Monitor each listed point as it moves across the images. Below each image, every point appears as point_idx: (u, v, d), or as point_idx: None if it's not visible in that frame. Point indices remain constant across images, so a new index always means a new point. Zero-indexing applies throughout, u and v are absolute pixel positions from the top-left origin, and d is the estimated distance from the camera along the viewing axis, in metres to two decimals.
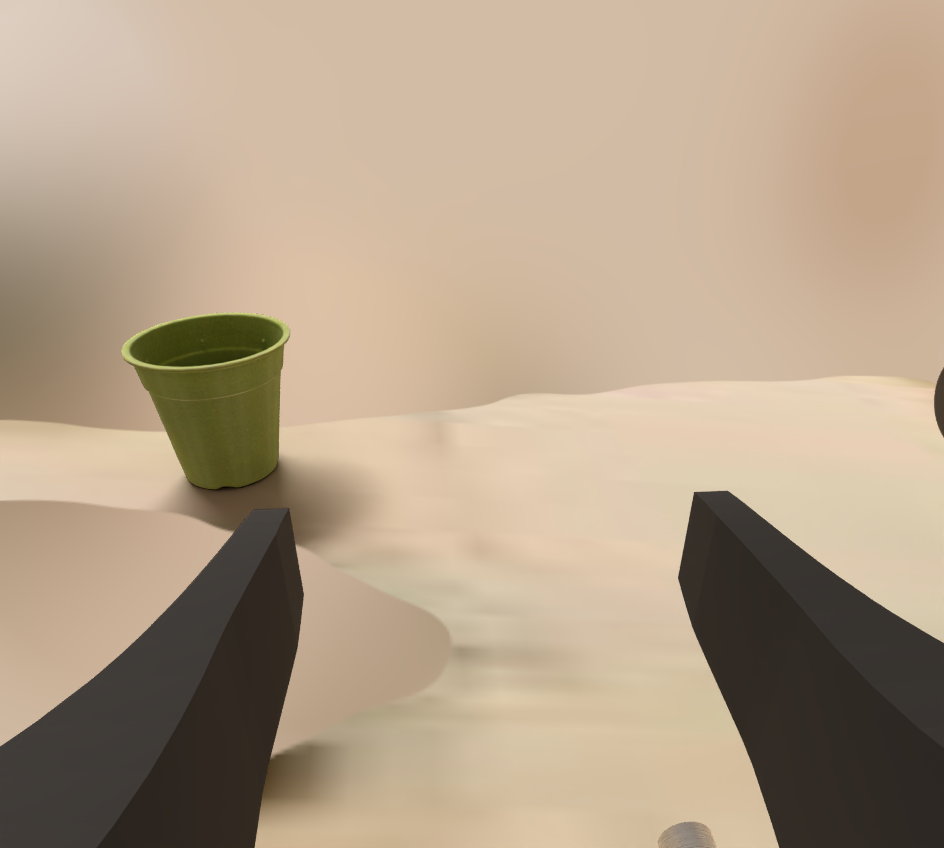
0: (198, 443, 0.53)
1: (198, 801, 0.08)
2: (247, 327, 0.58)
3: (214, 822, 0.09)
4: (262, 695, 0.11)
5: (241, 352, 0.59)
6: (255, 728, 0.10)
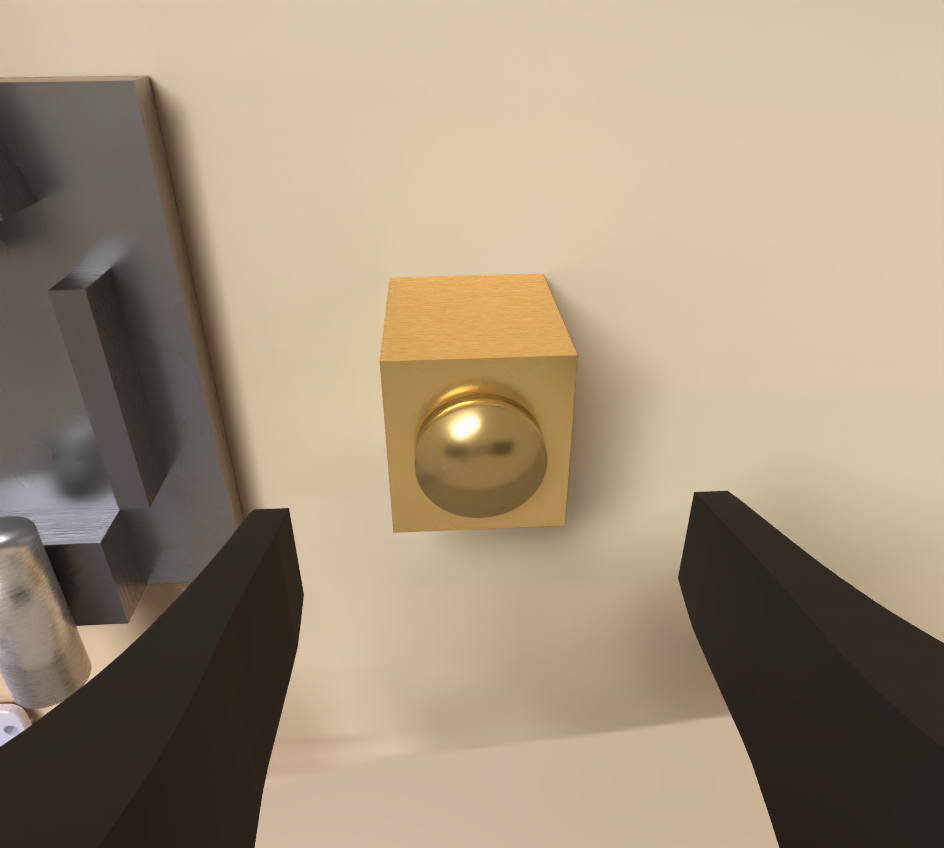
0: None
1: (198, 801, 0.08)
2: None
3: (214, 822, 0.09)
4: (262, 695, 0.11)
5: None
6: (255, 728, 0.10)
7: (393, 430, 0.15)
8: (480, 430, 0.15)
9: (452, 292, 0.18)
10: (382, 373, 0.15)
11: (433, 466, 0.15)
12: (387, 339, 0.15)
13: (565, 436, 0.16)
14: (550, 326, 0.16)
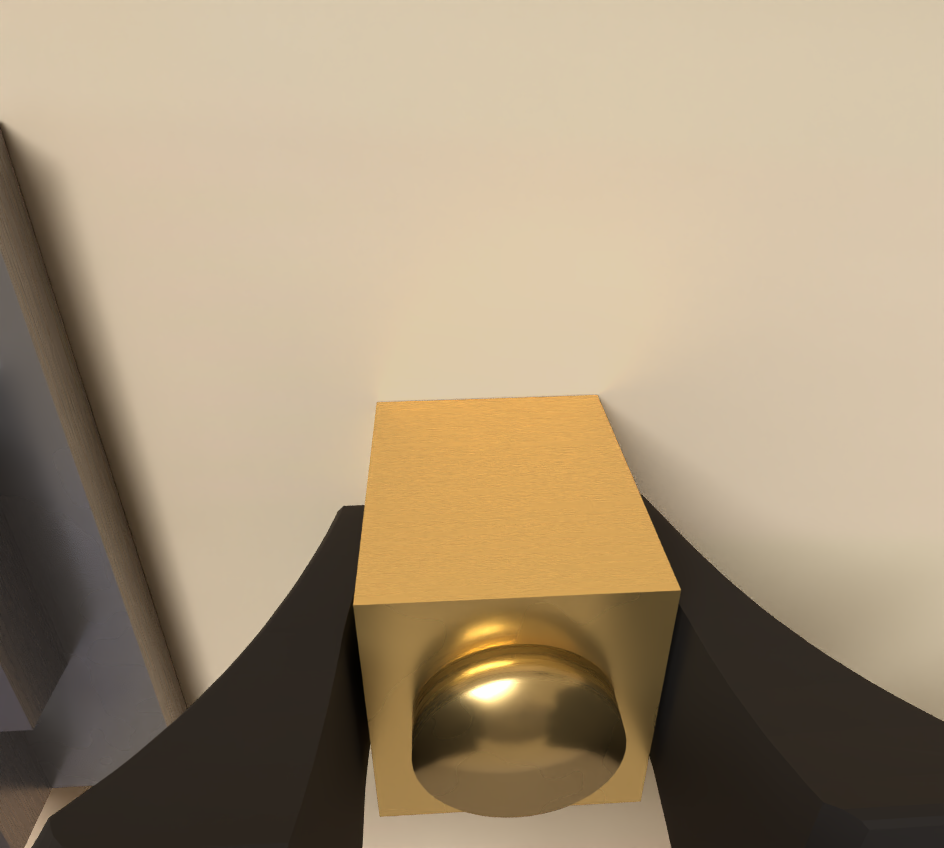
0: None
1: (336, 793, 0.08)
2: None
3: (343, 814, 0.09)
4: None
5: None
6: (361, 722, 0.10)
7: (376, 694, 0.10)
8: (519, 712, 0.09)
9: (467, 434, 0.12)
10: (357, 621, 0.09)
11: (442, 759, 0.09)
12: (368, 546, 0.10)
13: (651, 695, 0.10)
14: (625, 515, 0.10)
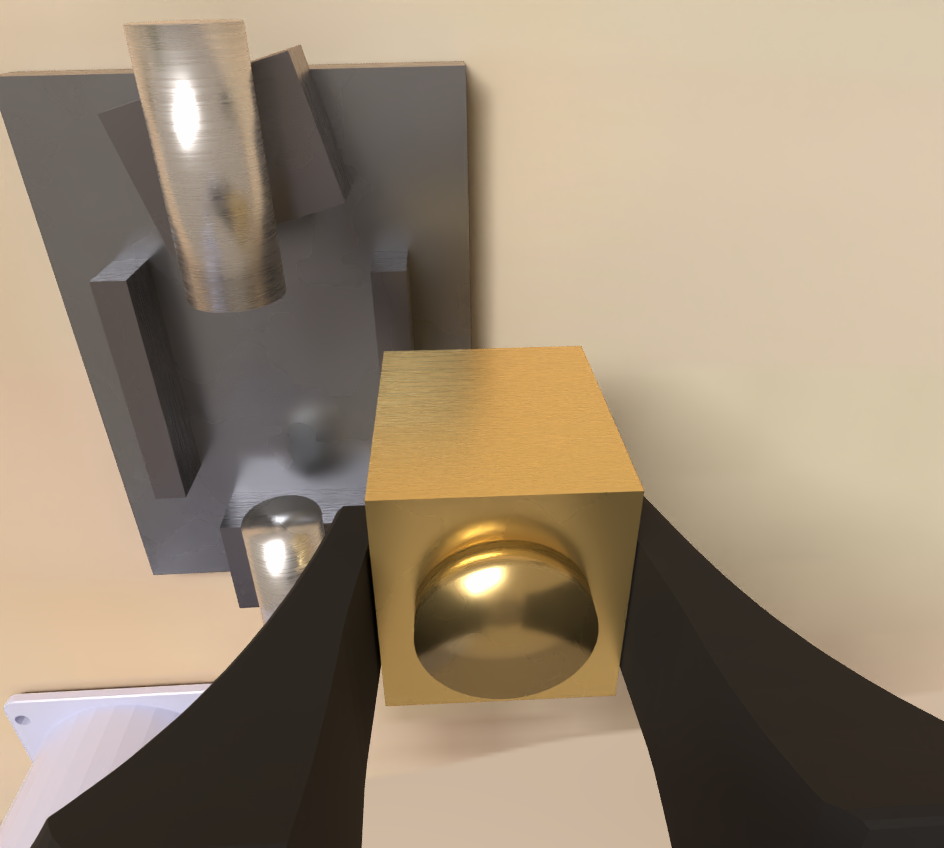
0: None
1: (335, 793, 0.08)
2: None
3: (342, 815, 0.09)
4: (364, 690, 0.11)
5: None
6: (360, 722, 0.10)
7: (384, 586, 0.11)
8: (506, 595, 0.10)
9: (464, 377, 0.14)
10: (368, 516, 0.10)
11: (439, 639, 0.11)
12: (377, 459, 0.11)
13: (621, 591, 0.11)
14: (600, 436, 0.12)
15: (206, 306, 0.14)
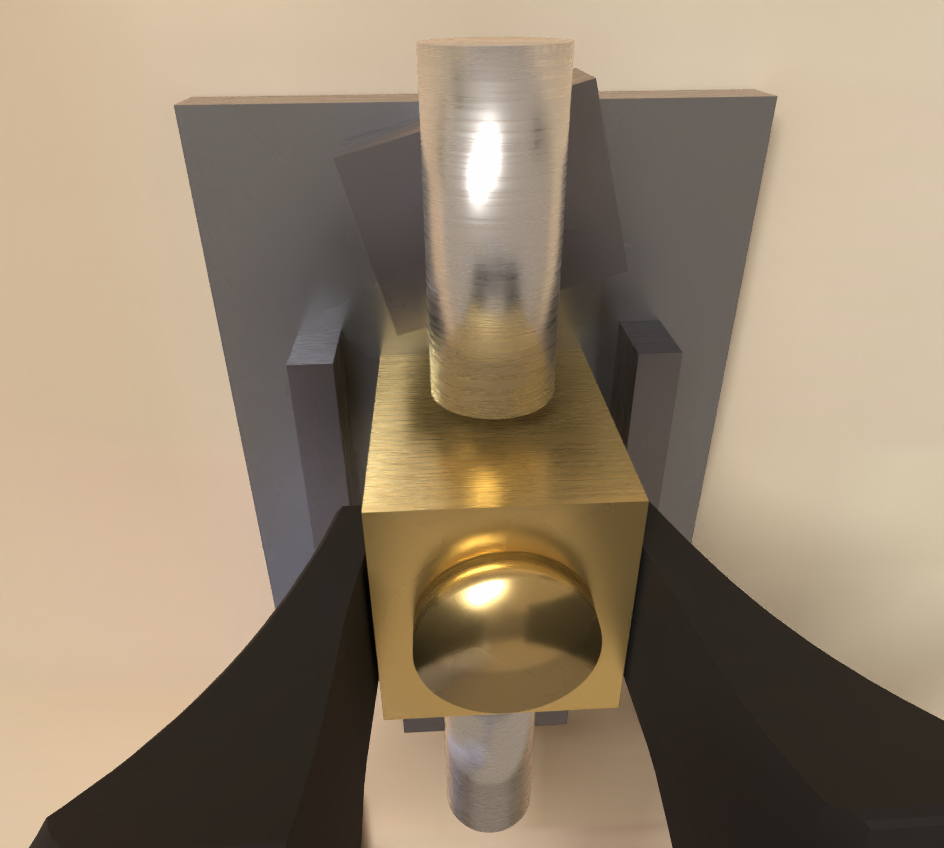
0: None
1: (334, 793, 0.08)
2: None
3: (342, 814, 0.09)
4: (363, 690, 0.11)
5: None
6: (360, 722, 0.10)
7: (382, 599, 0.11)
8: (507, 609, 0.10)
9: None
10: (365, 528, 0.10)
11: (439, 654, 0.11)
12: (374, 468, 0.11)
13: (625, 602, 0.11)
14: (603, 444, 0.11)
15: (471, 410, 0.11)
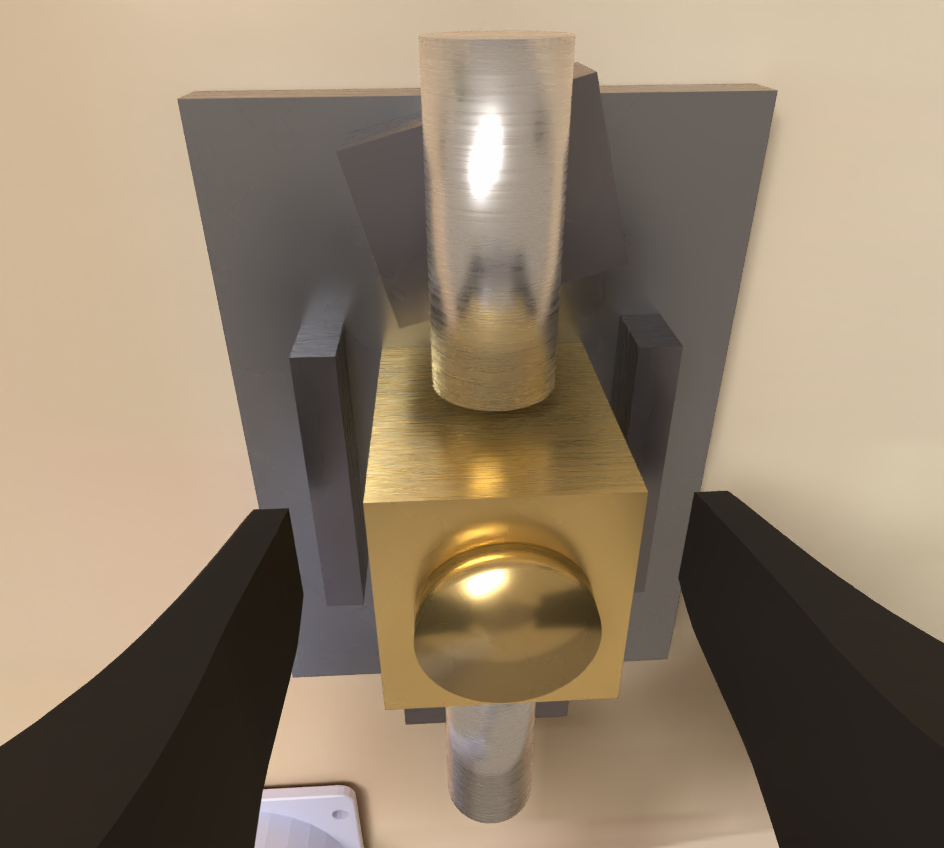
0: None
1: (198, 801, 0.08)
2: None
3: (214, 822, 0.09)
4: (262, 695, 0.11)
5: None
6: (255, 728, 0.10)
7: (383, 589, 0.11)
8: (508, 598, 0.10)
9: None
10: (367, 518, 0.10)
11: (440, 643, 0.11)
12: (375, 460, 0.11)
13: (624, 593, 0.11)
14: (603, 435, 0.11)
15: (472, 402, 0.11)
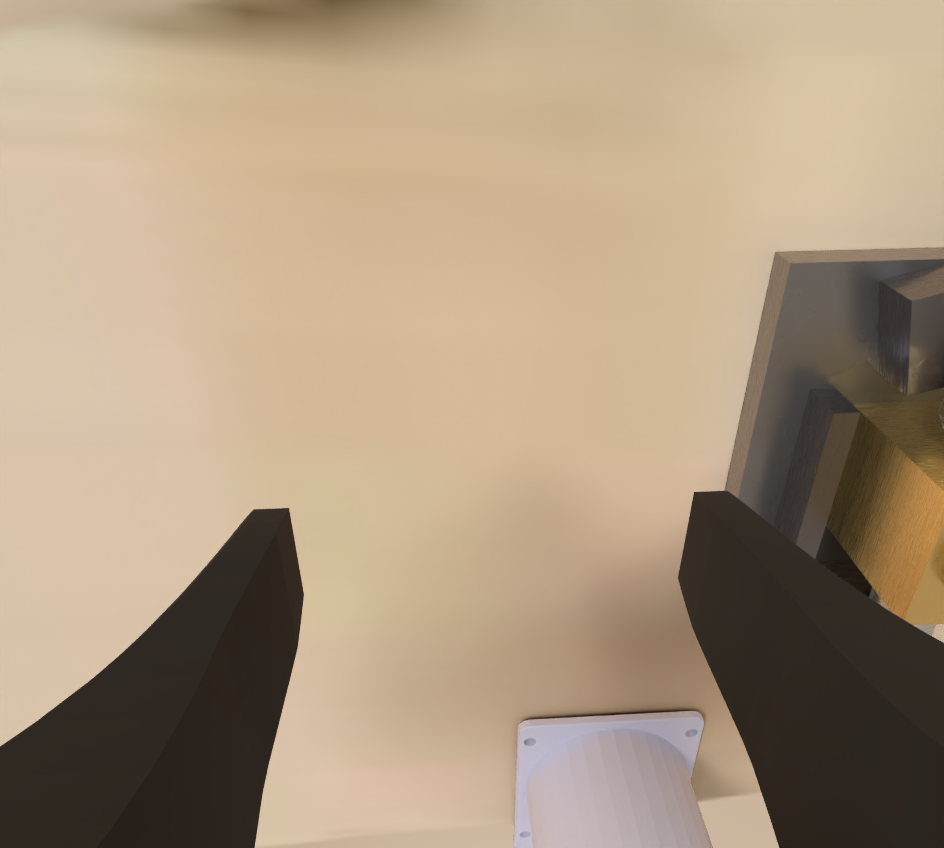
0: None
1: (198, 801, 0.08)
2: None
3: (214, 822, 0.09)
4: (262, 695, 0.11)
5: None
6: (255, 728, 0.10)
7: (939, 550, 0.19)
8: None
9: (925, 422, 0.21)
10: None
11: None
12: (932, 476, 0.19)
13: None
14: None
15: None
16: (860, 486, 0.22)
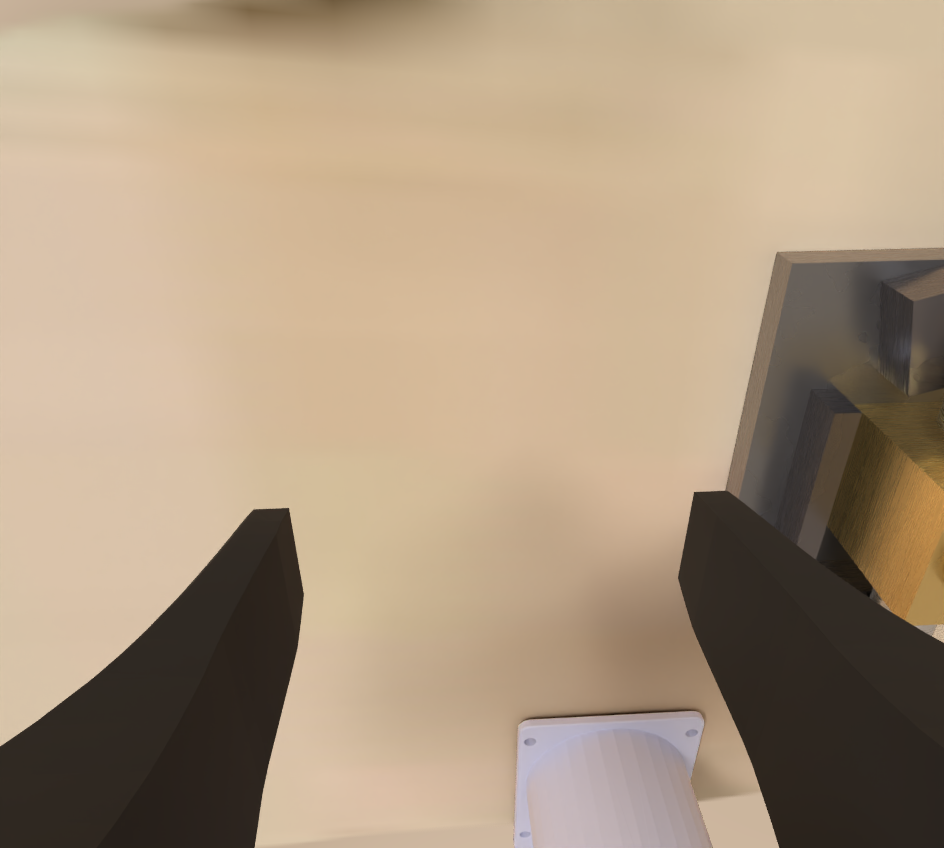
0: None
1: (198, 801, 0.08)
2: None
3: (214, 822, 0.09)
4: (262, 695, 0.11)
5: None
6: (255, 728, 0.10)
7: (940, 550, 0.19)
8: None
9: (926, 422, 0.21)
10: None
11: None
12: (934, 477, 0.19)
13: None
14: None
15: None
16: (861, 486, 0.22)
